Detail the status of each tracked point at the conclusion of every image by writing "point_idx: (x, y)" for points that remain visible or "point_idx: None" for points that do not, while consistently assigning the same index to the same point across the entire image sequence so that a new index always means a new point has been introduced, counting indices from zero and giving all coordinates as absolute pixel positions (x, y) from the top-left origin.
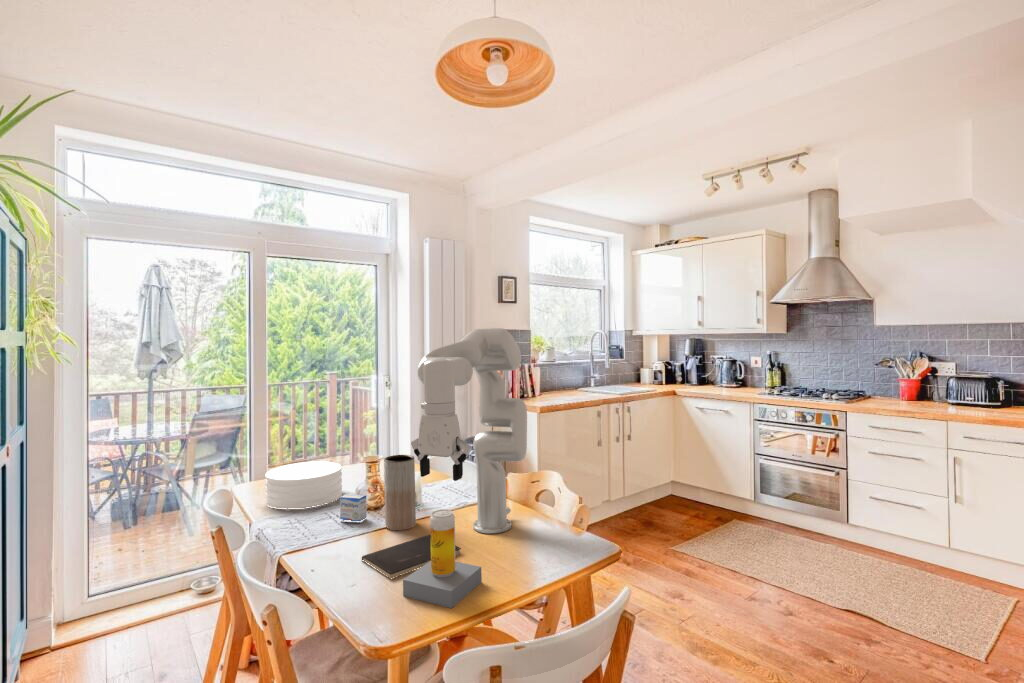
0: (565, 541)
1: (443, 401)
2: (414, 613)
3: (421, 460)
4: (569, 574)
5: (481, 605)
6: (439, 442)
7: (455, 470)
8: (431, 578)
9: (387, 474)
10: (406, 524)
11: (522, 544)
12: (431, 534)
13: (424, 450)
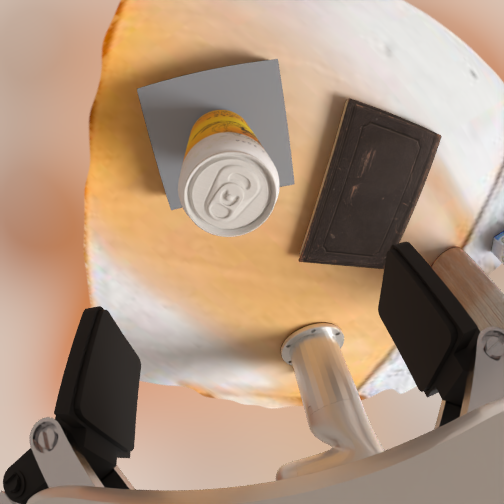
0: (178, 364)
1: None
2: (194, 28)
3: (471, 343)
4: (90, 299)
5: (108, 133)
6: None
7: (70, 374)
8: (222, 100)
9: None
10: (437, 268)
11: (225, 332)
12: (240, 130)
13: (491, 469)
